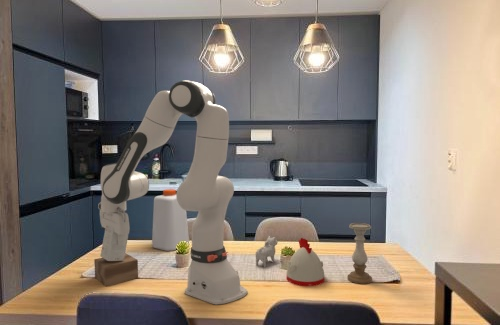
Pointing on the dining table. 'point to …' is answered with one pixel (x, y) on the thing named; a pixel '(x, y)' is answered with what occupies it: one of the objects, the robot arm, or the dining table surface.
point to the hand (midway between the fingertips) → (115, 242)
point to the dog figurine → (266, 251)
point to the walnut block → (116, 270)
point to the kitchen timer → (305, 266)
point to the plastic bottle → (168, 222)
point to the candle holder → (359, 255)
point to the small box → (113, 245)
